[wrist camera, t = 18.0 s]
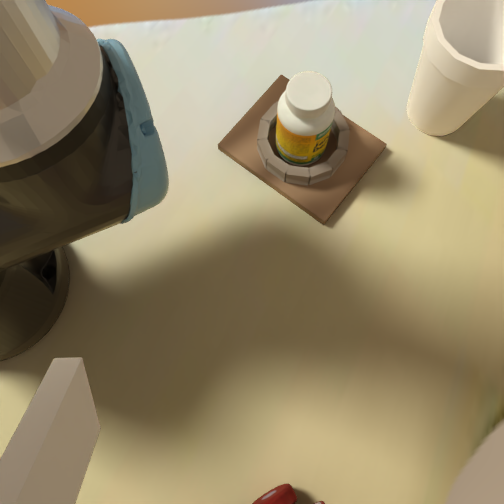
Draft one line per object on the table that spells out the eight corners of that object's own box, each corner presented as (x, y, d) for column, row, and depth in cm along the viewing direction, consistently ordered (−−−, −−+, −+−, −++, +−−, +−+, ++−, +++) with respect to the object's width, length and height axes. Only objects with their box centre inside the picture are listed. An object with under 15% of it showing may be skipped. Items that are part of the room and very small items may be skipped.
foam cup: (375, 100, 53) (409, 10, 41) (439, 60, 54) (492, -39, 42) (430, 164, 51) (485, 90, 38) (496, 120, 52) (570, 35, 40)
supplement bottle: (286, 115, 52) (292, 55, 43) (333, 132, 51) (349, 75, 42) (267, 156, 50) (268, 103, 41) (314, 175, 50) (327, 125, 40)
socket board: (218, 149, 52) (216, 135, 49) (280, 80, 54) (281, 62, 51) (323, 224, 49) (327, 214, 46) (384, 148, 51) (391, 134, 49)
